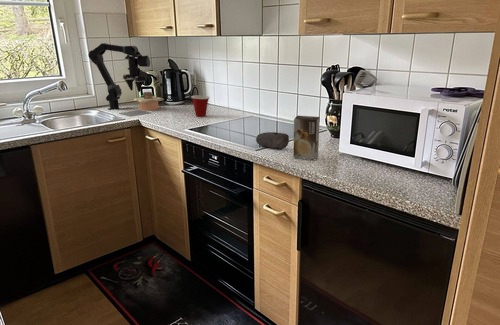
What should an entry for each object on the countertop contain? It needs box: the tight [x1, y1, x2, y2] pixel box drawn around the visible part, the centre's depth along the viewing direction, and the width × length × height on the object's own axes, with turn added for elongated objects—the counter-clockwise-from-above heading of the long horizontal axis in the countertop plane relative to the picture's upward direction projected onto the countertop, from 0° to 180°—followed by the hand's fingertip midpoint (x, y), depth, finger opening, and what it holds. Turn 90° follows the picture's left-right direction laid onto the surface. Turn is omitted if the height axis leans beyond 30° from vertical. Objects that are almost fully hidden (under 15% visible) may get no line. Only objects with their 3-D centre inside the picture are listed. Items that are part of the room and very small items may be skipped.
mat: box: [118, 109, 151, 118], centre depth 234 cm, size 15×15×1 cm
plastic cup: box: [190, 94, 210, 118], centre depth 226 cm, size 11×11×12 cm
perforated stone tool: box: [255, 131, 290, 150], centre depth 162 cm, size 15×5×7 cm, turn 59°
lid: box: [132, 91, 164, 103], centre depth 246 cm, size 14×14×5 cm
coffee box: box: [292, 115, 321, 160], centre depth 147 cm, size 9×6×16 cm
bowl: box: [138, 101, 160, 111], centre depth 248 cm, size 12×12×6 cm
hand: (135, 91), depth 244 cm, fingers open, 9 cm apart
